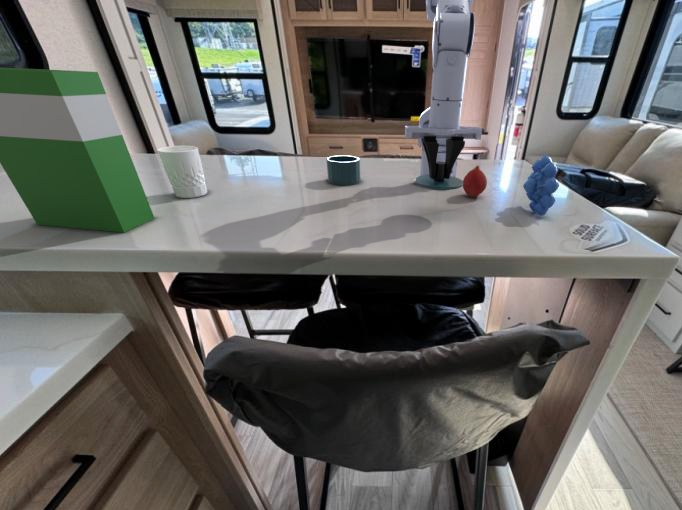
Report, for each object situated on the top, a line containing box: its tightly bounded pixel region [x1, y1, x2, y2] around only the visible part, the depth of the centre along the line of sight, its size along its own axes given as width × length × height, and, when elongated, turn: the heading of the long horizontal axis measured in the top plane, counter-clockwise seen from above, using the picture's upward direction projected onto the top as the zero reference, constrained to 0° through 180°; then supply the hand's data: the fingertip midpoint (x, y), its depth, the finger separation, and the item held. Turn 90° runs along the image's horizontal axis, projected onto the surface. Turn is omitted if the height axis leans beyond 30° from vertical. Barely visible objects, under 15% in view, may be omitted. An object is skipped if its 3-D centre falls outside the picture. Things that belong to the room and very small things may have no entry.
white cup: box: [156, 145, 208, 199], centre depth 77 cm, size 8×8×10 cm
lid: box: [414, 162, 463, 191], centre depth 67 cm, size 10×10×4 cm
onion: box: [462, 165, 488, 198], centre depth 82 cm, size 6×6×8 cm
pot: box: [326, 155, 361, 186], centre depth 92 cm, size 9×9×6 cm
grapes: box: [522, 155, 560, 217], centre depth 74 cm, size 12×7×12 cm, turn 4°
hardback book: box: [0, 67, 155, 233], centre depth 57 cm, size 18×7×24 cm, turn 82°
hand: (439, 177), depth 68 cm, fingers closed on lid, 2 cm apart
